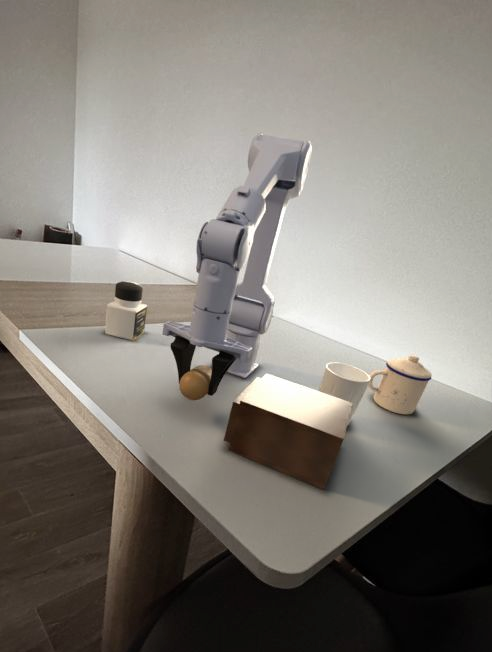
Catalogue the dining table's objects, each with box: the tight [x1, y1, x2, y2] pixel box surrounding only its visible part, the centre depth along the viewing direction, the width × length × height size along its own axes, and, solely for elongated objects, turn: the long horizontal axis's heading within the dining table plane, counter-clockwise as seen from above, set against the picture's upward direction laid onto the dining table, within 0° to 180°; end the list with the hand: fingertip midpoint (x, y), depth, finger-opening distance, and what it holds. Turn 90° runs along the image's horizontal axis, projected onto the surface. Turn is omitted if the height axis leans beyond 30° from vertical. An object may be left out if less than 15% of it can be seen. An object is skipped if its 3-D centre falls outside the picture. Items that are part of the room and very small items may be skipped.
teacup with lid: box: [367, 354, 433, 415], centre depth 83 cm, size 12×9×12 cm
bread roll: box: [178, 364, 212, 402], centre depth 64 cm, size 8×5×5 cm, turn 156°
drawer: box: [223, 376, 262, 444], centre depth 61 cm, size 15×11×7 cm
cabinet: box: [227, 372, 353, 491], centre depth 60 cm, size 15×13×9 cm
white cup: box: [318, 362, 371, 427], centre depth 72 cm, size 8×8×10 cm
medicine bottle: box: [104, 280, 148, 341], centre depth 91 cm, size 7×7×12 cm
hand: (197, 387), depth 64 cm, fingers closed on bread roll, 5 cm apart
